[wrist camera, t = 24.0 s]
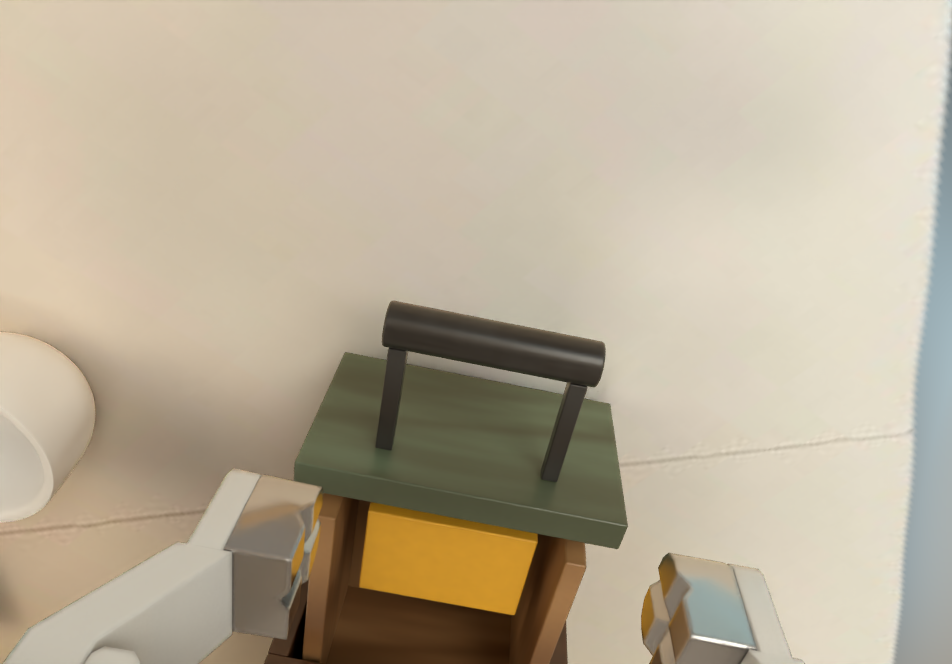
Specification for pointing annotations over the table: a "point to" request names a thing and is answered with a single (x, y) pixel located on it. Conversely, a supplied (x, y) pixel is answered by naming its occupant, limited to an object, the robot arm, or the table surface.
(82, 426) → the teacup
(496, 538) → the mustard yellow brick
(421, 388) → the drawer
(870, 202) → the table surface
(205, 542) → the robot arm
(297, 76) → the table surface
